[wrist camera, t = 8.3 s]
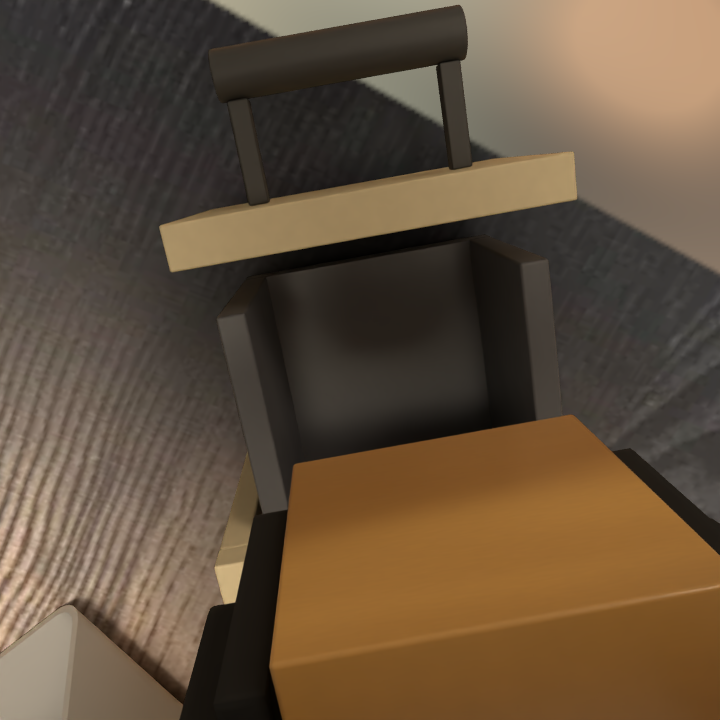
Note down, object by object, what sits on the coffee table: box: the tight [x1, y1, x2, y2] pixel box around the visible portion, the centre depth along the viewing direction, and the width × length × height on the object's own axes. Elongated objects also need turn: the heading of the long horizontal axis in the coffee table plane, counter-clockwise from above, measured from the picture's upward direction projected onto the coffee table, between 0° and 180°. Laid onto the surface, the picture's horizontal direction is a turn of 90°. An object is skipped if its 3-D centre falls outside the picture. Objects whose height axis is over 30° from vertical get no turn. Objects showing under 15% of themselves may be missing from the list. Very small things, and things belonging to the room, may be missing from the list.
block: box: [269, 415, 720, 720], centre depth 9 cm, size 4×4×4 cm
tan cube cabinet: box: [214, 451, 262, 604], centre depth 25 cm, size 14×12×10 cm
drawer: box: [159, 5, 577, 514], centre depth 21 cm, size 17×11×8 cm, turn 10°
